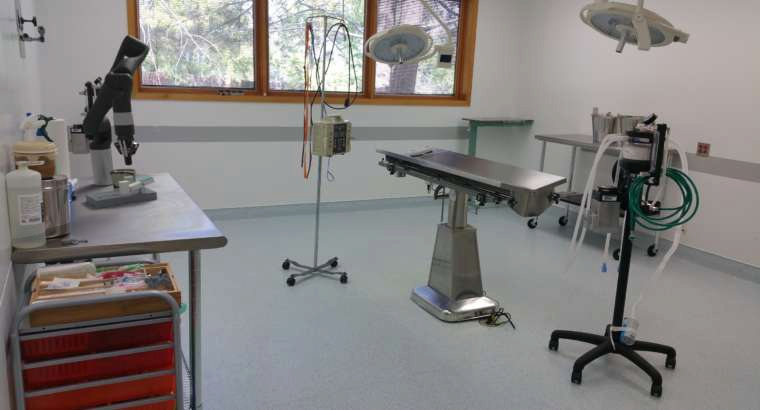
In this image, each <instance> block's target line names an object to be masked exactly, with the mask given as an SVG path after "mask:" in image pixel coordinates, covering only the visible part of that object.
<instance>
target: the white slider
mask: <svg viewBox="0 0 760 410" xmlns="http://www.w3.org/2000/svg"><path fill="white" fill-rule="evenodd" d="M118 183H119V188H120V195H124V194H130V188H129V183H130V182H129V181H127V180H126V181H119V182H118Z"/></svg>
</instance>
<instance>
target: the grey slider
mask: <svg viewBox="0 0 760 410" xmlns="http://www.w3.org/2000/svg"><path fill="white" fill-rule="evenodd" d="M123 178H124V181H126V180H127V181H129V182H130V183H129V184H132V183H134V180H133V178H134V177H132V176H126V177H123Z"/></svg>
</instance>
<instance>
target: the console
mask: <svg viewBox="0 0 760 410" xmlns="http://www.w3.org/2000/svg"><path fill="white" fill-rule="evenodd" d="M114 190H115V191H114ZM157 199H158V193H157V191H155V190H152V189H150V188H148V187H146V186H144V187H141V188H139V189H136V190H134V191H131V190H130V194H124V195H120V188H118V189H114V188H113V190H109V191H108V190H107V191H103V192H96V193H95V192H94V193H87V194H85V202H87V203H88V204H90V205H92V206H93V207H95V208H97V209H100V208H107V207H113V206H120V205H127V204H128V205H129V204H132V203H140V202H145V201H146V202H147V201H152V200H157Z"/></svg>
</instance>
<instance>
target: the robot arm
mask: <svg viewBox="0 0 760 410" xmlns="http://www.w3.org/2000/svg"><path fill="white" fill-rule="evenodd" d="M149 52H150V46H149V45H148V44H147V43H145V42H144V41H142V40H140V39H138V38H136V37H134V36H133V35H130V34H128V35H125V36H124V38H123V40H122V42H121V44H120V46H119V49H118V52H117V54H116V56H115V59H114V61H113V64H112V66H111V68H110V69H109V72H108V73H107V74H106V75H105V76H104V80H103V83H102V85H101V87H100V90H99V91H98V94H97V96H96V98H95V100H94V102H93V103H92V106H91V107H90V109H89V110H88V112H87V114H86V115H85V117H84V118H83V120H82V129H83V130H82V131H83V132H84V133H85V134H87V135H89V136H93V139H92V141H91V142H89V143H88V148H89V156H90V163H91V165H90V166H91V171H92V172H91V173H92V179H93V180H92V181H93V185H94V186H98V187H102V186H110V185H113V184H112V179H111V175H109V172H110V170H114V162H113V161H114V160H113V155H112V142H113V134H112V133H113V132H112V125H111V121H110V118H108V116H107V114H108V112H110V110H112V115H113V116H112V120H113V121H112V122H113V127H114V135H115V136H117V138H116V140H117V141H115V142H113V145H114V147H115V148H116V150H117V152H118V154H119V155H122V157H123V159H124V164H125V166H128V167H130V166H132V165H133V158H132V156H134V155H136V153H137V150H138V148H139V147H140V144H139V142H136V141H135V137H134V135H135V134H136V130H135V121H134V115H133V109H132V94H133V89H134V79H133V76H134V75H135V73H136V71H137V69H139V68H140V66H141V65H142V64H143V63H144V61H145V60H146V58H147V56H148V54H149ZM125 57H126V58H125Z"/></svg>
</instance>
